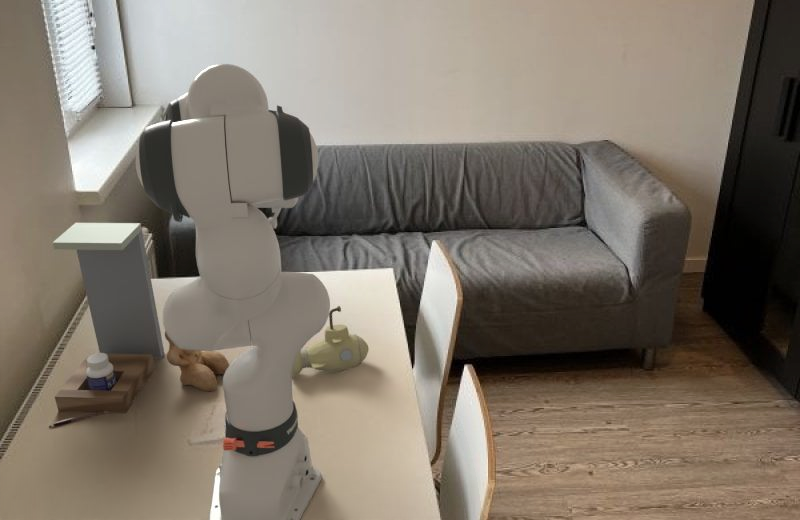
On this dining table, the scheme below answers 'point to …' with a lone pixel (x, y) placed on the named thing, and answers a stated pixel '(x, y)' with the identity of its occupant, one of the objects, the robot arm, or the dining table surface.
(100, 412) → the pen
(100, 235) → the grey pedestal stand
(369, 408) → the dining table surface
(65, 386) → the socket block
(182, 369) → the figurine
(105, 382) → the pill bottle
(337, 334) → the toy
